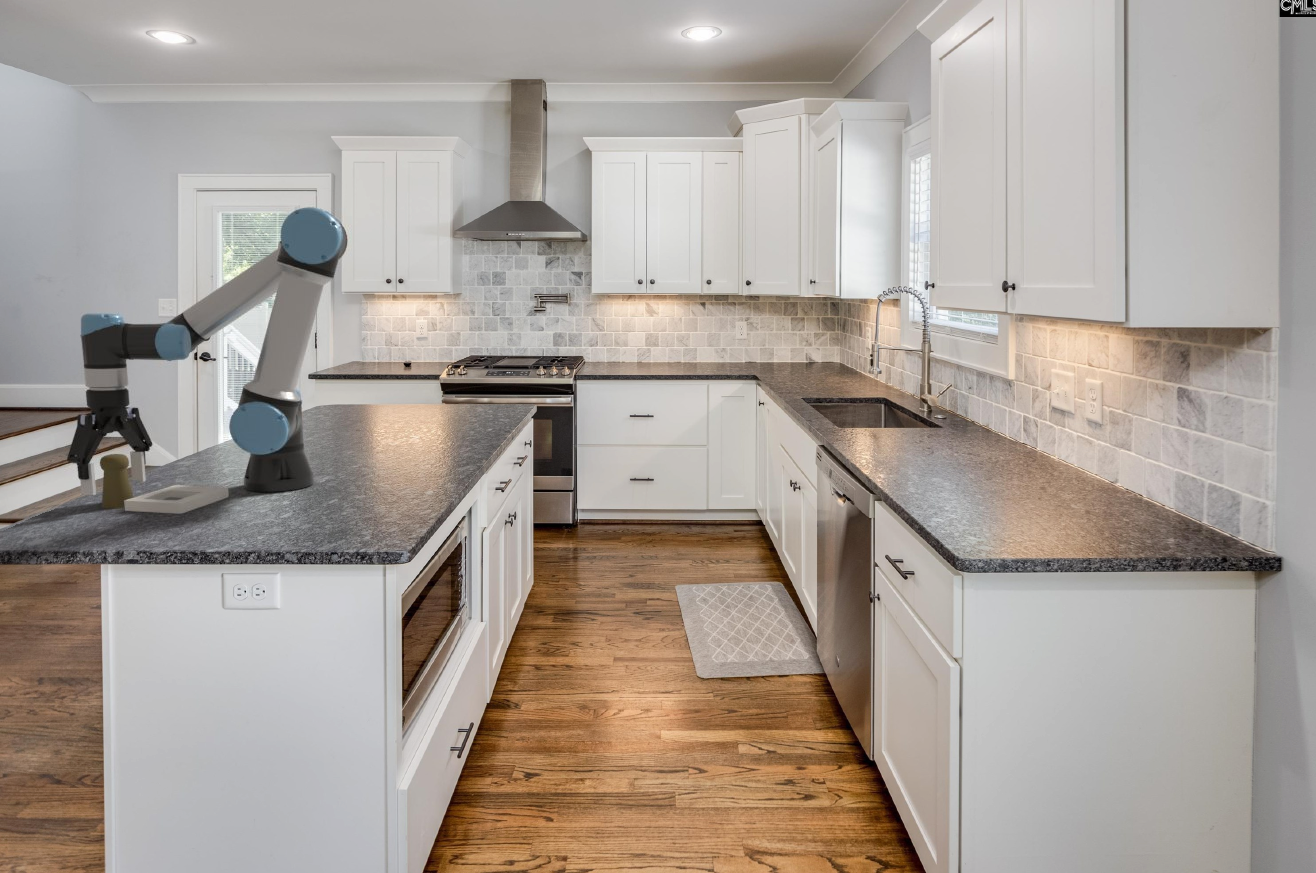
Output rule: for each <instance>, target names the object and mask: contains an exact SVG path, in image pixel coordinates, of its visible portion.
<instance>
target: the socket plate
mask: <svg viewBox="0 0 1316 873" xmlns="http://www.w3.org/2000/svg"><path fill="white" fill-rule="evenodd" d="M133 497H134V496H133ZM227 498H229V487H228V486H227V487H224V486H203V485H184V484H183V485H182V484H181V485H180V484H174V485H172V486H167V487H164V488H161V489H158V490H154V491H152V492H148V493H143V494H141V495H138V496H135V497H134V498H131V499H127V500H124V505H125V507H124V512H139V513H140V512H141V513H142V512H144V513H156V514H157V513H159V514H160V513H161V514H185V513H188V512H190V511H194V510H196V509H200V508H203V507H204V506H207V505H211V504H214V503H217V502H219V501H221V500H225V499H227Z"/></svg>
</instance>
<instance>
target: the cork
mask: <svg viewBox="0 0 1316 873" xmlns="http://www.w3.org/2000/svg"><path fill="white" fill-rule="evenodd" d="M99 466H100V468H101V469H102V471H103V479H102V480H103V482H102V497H101V508H102V509H107V510H108V509H109V510H110V509H111V510H112V509H113V510H114V509H123V508H124V509H125V505H124V500H127V499H131V498H134V494H133V490H132V485H131V481H130V478H129V474H128V467H129V466H130V460H129V457H127V455H126V454H122V453H111V454H107V455H106V454H105V455H104V456H102V457H101V458H100V460H99Z"/></svg>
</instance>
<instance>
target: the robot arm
mask: <svg viewBox="0 0 1316 873" xmlns="http://www.w3.org/2000/svg"><path fill="white" fill-rule="evenodd" d="M347 247H348V235H347V232H346V229H345V226H343V223H342V222H340V220H338V218H336V217H335V216H334V215H333V214H331V213H330V212H329V211H327V210H324V209H322V208H317V207H314V206H312V207H309V206H308V207H302V208H299V209H296V210H294V211H292V212H291V213H289V214H288V215H287V217H286V218H285V219H284V221H283V222H282V225H281V228H280V240H279V241H278V246H277V249H275V250H274V251H272V252H271V253H269V254H268V255H266V256H265V257H263V258H262V259H260V260H259V261H257V262H256V263H254V264H252V265H250V267H248V268H247V269H245V270H244V271H243V272H241V273H239V274H238V275H236V276H235V277H233V278H232V279H230V280H229V281H228V282H226V283H224V284H223V285H221V286H220V287H218V288H217V289H215V290H214V291H213V292H210V293H209V294H208V295H206V296H205V297H204V298H201V299H200V300H199V301H198V302H196V303H194V304H192V305H191V306H190V307H189V308H187V309H185V310H184V311H183V312H181V313H179V314H178V315H176V316H175V317H174V318H172V319H170V320H169V321H167V322H164V323H161V322H160V323H126V322H125V320H124V316H123V315H122V314H120V313H85V314H83V315H82V316H81V318H80V339H81V350H82V359H83V371H84V381H85V383H84V384H85V387H86V388H88V389H87V390H86V391H85V397H86V398H85V399H86V400H85V401H86V406H87V407H88V408H89V409H90V413H89V414H80V413H79V414H78V415H77V419H76V420H77V421H76V423H77V425H76V429H75V431H74V435H73V438H72V442H71V445H70V447H69V451H68V453H67V457H66V461H67V462H69V463H72V464H76V466H77V467H76V468H77V477H78V480H80V491H81V495H84V496H85V495H86V496H95V495H97V489H96V475H95V474H96V473H95V463H93V462H91V461H92V459H93V457H94V455H95V454H96V451H97V449H98V447H99V446H100V444H101V442H102V440H103V438H104V437H106V436H107V435H108V434H112V433H114V432H117V433H118V434H119V435H120V436H121V437H122V439H124V440H125V442H126V443H127V444H128V445H129V447H131V449H132V450H133V451H130V452H129V454H130V466H131V467H130V468H131V481H132V482H144V483H145V482H147V481H146V480H147V479H146V467H145V466H146V464H147V462H146V452H150V449H151V448H152V446H153V442H152V440H151V439H152V438H150V435H149V433H148V431H147V429H146V427H145V425H144V423H143V421H142V419H141V417H140V416H141V414H140V410H139V407H132V406H131V407H130V406H129V405H130V394H129V392H130V391H129V389H128V388H126V387H127V386H129V377H128V367H127V360H130V361H131V360H133V361H134V360H138V361H139V360H145V361H146V360H147V361H167V362H171V361H184V360H186V359H187V358H189V356H190V354H191V353H192V352H193V351H195V350H196V349H197V347H198V346H199V345H201V344H203V343H204V342H205V341H206V340H208V339H210V338H211V337H212V336H214V335H216V334H217V333H218V332H220V331H221V330H223V329H225V327H228V326H229V325H230V324H232V323H233V322H235V321H236V320H238V319H240V318H241V317H243V315H245V314H247V313H248V312H249V311H252V310H253V309H254V308H256V307H258V305H260V304H261V303H263V302H264V301H266V300H267V299H269V298H270V297H272V296H274V295H275V298H274V301H273V306H272V308H271V312H270V315H269V318H268V319H269V320H268V324H267V327H266V330H265V335H264V338H263V342H262V346H261V350H260V354H259V358H258V360H257V364H256V369H255V372H254V376H253V378H252V380H250V381H249V382H247V383H245V384H244V385H243V387H242V390H241V393H240V394H241V395H240V398H239V402H238V406H237V407H236V408H235V410H234V412H232V415H231V417H230V419H229V427H228V428H229V434H230V436H231V438H232V440H233V442H234V443H235V444H236V445H237V447H239V448H240V449H241V450H243V451H245V452H246V453H249V454H250V455H249V460H248V462H247V465H246V466H247V467H246V470H245V473H244V476H243V484H244V485H243V487H244V489H245V490H247V491H250V492H258V493H259V492H261V493H273V492H274V493H276V492H287V491H293V490H299V489H304V488H307V487H310V486H313V485H314V484H315V479H314V478H315V477H314V476H315V475H314V472H313V470H312V468H311V465H310V462H309V460H308V458H307V455H306V452H305V442H304V425H303V408H302V407H303V406H302V404H303V400H302V397H301V396H302V395H301V392H300V391H299V390H298V389H296V388H297V385H298V382H299V377H300V374H301V370H302V367H303V363H304V359H305V356H306V353H307V352H306V351H307V348H308V344H309V340H310V337H311V335H312V334H311V333H312V329H313V326H314V323H315V322H314V321H315V320H316V315H317V312H318V307H319V304H320V300H321V296H322V293H323V289H324V286H325V285H326V284H328V283H330V282H331V281H333V280H334V277H335V275H336V274H335V273H336V271H337V266H338V263H339V260H340V259H341V258H343V256H344V254H345V252H347V251H346V250H347ZM127 406H129V407H127Z"/></svg>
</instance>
